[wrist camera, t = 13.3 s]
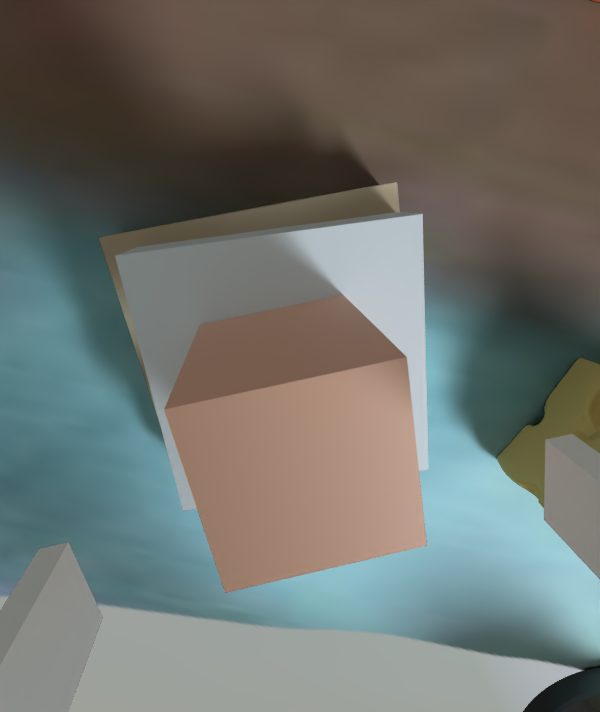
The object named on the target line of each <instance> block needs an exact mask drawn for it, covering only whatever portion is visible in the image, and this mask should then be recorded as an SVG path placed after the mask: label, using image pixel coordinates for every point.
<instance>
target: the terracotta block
mask: <svg viewBox="0 0 600 712" xmlns="http://www.w3.org/2000/svg"><path fill="white" fill-rule="evenodd" d="M164 411H165V414H166V417H167V420H168V423H169V426H170V429H171V432H172V435H173V438H174V441H175V444H176V447H177V450H178V453H179V456H180V459H181V462H182V465H183V468H184V471H185V474H186V477H187V480H188V483H189V486H190V489H191V492H192V495H193V498H194V501H195V504H196V507H197V510H198V513H199V516H200V519H201V522H202V525H203V528H204V531H205V534H206V537H207V540H208V543H209V546H210V549H211V552H212V555H213V558H214V561H215V564H216V567H217V570H218V573H219V576H220V579H221V582H222V585H223V588H224V591H225V593H227V592H231V591H235V590H239V589H244V588H248V587H252V586H257V585H261V584H265V583H269V582H274V581H278V580H282V579H286V578H291V577H295V576H299V575H303V574H308V573H312V572H316V571H320V570H325V569H329V568H333V567H337V566H342V565H346V564H350V563H355V562H359V561H363V560H367V559H372V558H376V557H380V556H384V555H389V554H393V553H397V552H401V551H406V550H410V549H414V548H418V547H423V546H427V542H426V532H425V523H424V514H423V504H422V495H421V485H420V476H419V466H418V457H417V448H416V438H415V429H414V419H413V410H412V400H411V391H410V382H409V372H408V363H407V357H406V356H405V355H404V354H403V353H402V352H401V351H400V350H399V349H398V348H397V347H396V346H395V345H394V344H393V343H392V342H391V341H390V340H389V339H388V338H387V337H386V336H385V335H384V334H383V333H382V332H381V331H380V330H379V329H378V328H377V327H376V326H375V325H374V324H373V323H372V322H371V321H370V320H368V319H367V318H366V317H365V316H364V315H363V314H362V313H361V312H360V311H359V310H358V309H357V308H356V307H355V306H354V305H353V304H352V303H351V302H350V301H349V300H348V299H347V298H346V297H345V296H344V295H339V296H334V297H330V298H325V299H320V300H315V301H310V302H306V303H301V304H296V305H291V306H287V307H282V308H277V309H272V310H267V311H263V312H258V313H253V314H248V315H244V316H239V317H234V318H229V319H225V320H220V321H215V322H210V323H205V324H201V325H199V327H198V330H197V332H196V334H195V337H194V339H193V342H192V344H191V346H190V349H189V351H188V353H187V356H186V358H185V361H184V363H183V365H182V368H181V370H180V373H179V375H178V377H177V380H176V382H175V385H174V387H173V389H172V392H171V394H170V396H169V399H168V401H167V404H166V406H165V408H164Z"/></svg>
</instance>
